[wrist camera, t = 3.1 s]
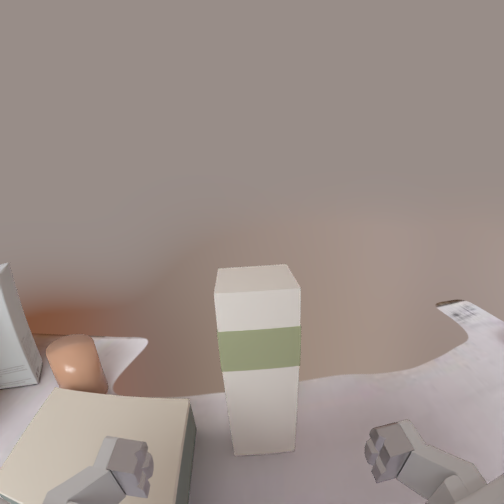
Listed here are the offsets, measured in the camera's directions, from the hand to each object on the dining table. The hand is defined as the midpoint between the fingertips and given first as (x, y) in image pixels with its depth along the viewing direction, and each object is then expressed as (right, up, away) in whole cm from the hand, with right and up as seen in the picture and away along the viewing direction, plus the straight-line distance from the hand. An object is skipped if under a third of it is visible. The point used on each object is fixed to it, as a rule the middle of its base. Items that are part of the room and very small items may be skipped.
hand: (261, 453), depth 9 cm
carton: (+1, -9, +14) cm, 17 cm away
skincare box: (-32, -10, +19) cm, 38 cm away
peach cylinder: (-20, -9, +19) cm, 29 cm away
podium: (-12, -11, +8) cm, 18 cm away
